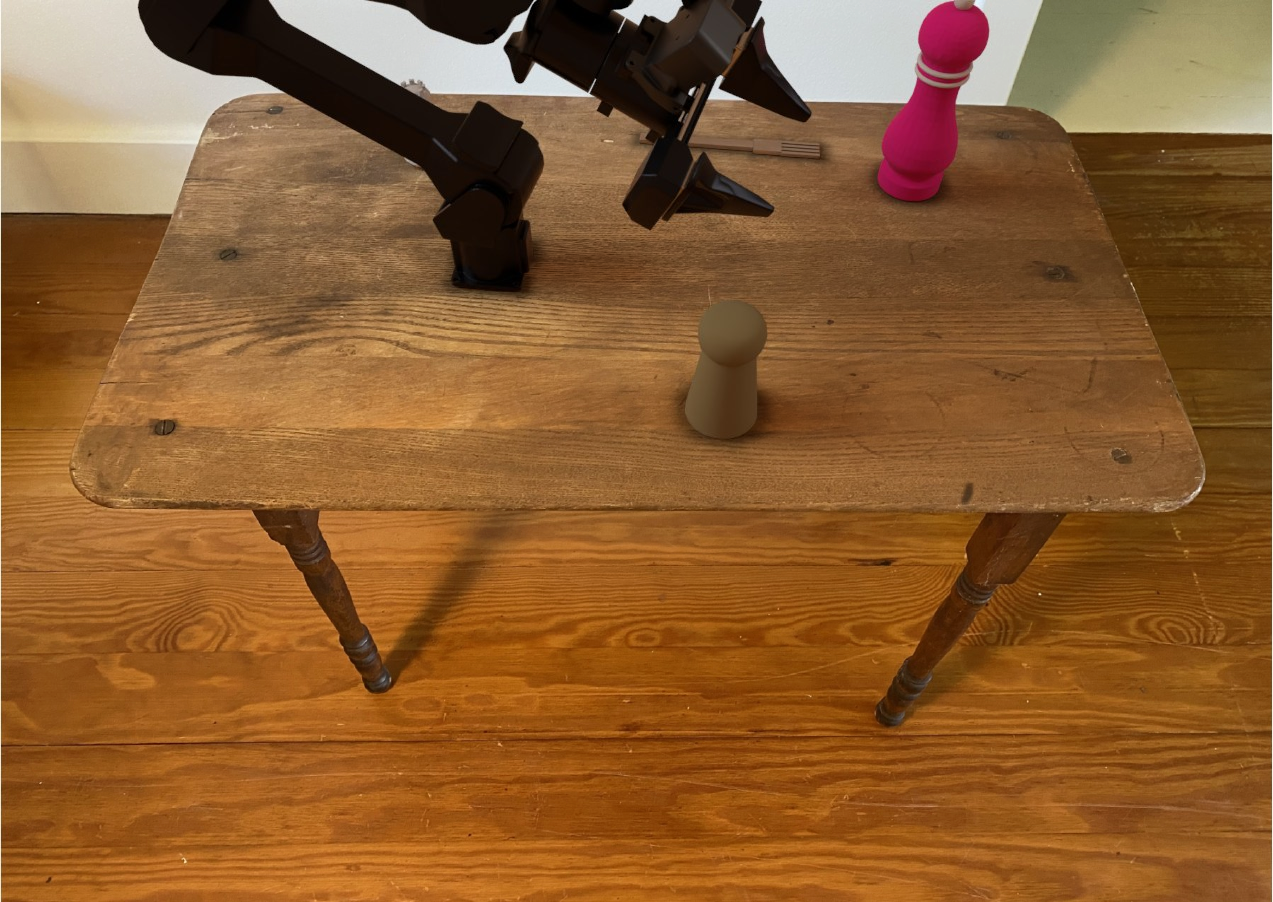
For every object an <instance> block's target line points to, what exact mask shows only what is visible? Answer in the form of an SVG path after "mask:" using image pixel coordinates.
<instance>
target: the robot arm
mask: <svg viewBox="0 0 1273 902" xmlns="http://www.w3.org/2000/svg"><path fill="white" fill-rule="evenodd" d="M365 1H366V2H372V3H376V4H377V3H378V4H383V5H388V6H394V7H396V8H399V9H401V10H404V11H407V12H409V14H410V15H412V16H413V17H415V18H416V19H417V20H418V21H419V22H420V23H422V24H423V25H424V26H425V27H426V28H428V29H429V30H431V31H434V32H437V33H440V34H443V35H445V36H449V37H451V38H454V39H456V40H460V41H461V42H465V43H469V44H472V45H475V46H487V45H490V44H494V43H495V42H496V41H497V40H499V39H500V38H501V37H502V36H503V35H504V34H506V32H507V31H508V29H509V28H510V26H511V25H512V24H513V22H514V20H515V19H516V17H518V16H520V15H522V14H523V13H526V12H527V11H528V14H527V16H526V18H525V21H524V24H523V27H522V29H521V30H518V31H513V32H512V33H511V34H510V35H509V37H508V38H507V41H506V42H505V44H504V45H503V48H502V50H503V52H504V53H505V54H506V57H507V59H508V61H509V65H510V70H511V73H512V76H513V79H514V82H516V84H518V85H522V84H524V83H525V82H526V79H527V78H528V76H529V74H530V72H531V71H532V69H533V67H534V66H535V64H537V65H538V66H540V67H542V68H543V69H545V70H547V71H549V72H551V73H552V74H554V75H556V76H558V77H559V78H561V79H562V80H564V81H566V82H568V83H569V84H571V85H573V86H574V87H577V88H578V89H580V90H582V91H583V92H585V93H587V94H589V95H590V96H592V97H594V98H596V99H597V100H599V101H600V102H599V104H598V106H597V108H596V112H598V113H599V114H601V115H603V116H604V117H606V118H609V117H610V115H611V114H612V112H613V110H617V111H618V112H620V113H621V114H623V115H625V116H627V117H628V118H630V119H632V120H634V121H636V123H639V124H640V125H642V126H644V127H646V128H648V131H647V132H646V133H647V135H646V137H645V139H646V140H648V141H650V142H652V143H653V144H652V146H651V148H650V150H649V151H648V153H647V154H646V156H645V157H644V159H643V160H642V162H641V163H640V165H639V167H638V168H637V169H636V172H635V175H634V176H633V178H632V181H631V183H630V185H629V187H628V190H627V191H626V194H625V196H624V199H623V201H622V203H621V206H622V207H623V209H624V211H625V212H626V214H627V216H628V218H629V219H630V220H631V221H632V222H633V223H635V224H637V225H639V226H641V227H643V228H644V229H647V231H652V230H653V228H654V227H655V226H656V224H657V223H658V222H659V221H660V220H662V221H664V222H665V223H667V222H669V221H670V220H671V219H672V217H673V216H674V215H682V214H683V215H685V214H686V215H689V214H715V215H716V214H717V215H728V216H729V215H730V216H740V217H741V216H742V217H744V216H745V217H755V218H769V217H770V216H771V215H772V214H773V213H774V211H775V206H774V205H772V204H771V203H770V202H769V201H767V200H766V199H765V198H763V196H760V195H759V194H757V193H755V192H753V191H752V190H750V189H749V188H747V187H745V186H744V185H742V184H740V183H738V182H736V181H734V180H733V179H732V178H729V177H728V176H727V175H725V174H723V173H721V172H719V171H717V169H716V168H715V167H714V164H713V163H712V161H711V160H710V158H709V156H708V154H707V153H706V151H704V150H703V151H702V152H701V154H700V155H698V157H697V159H696V160H694V159H695V158H694V157H693V154H692V152H691V149H690V147H688V143H689V140H690V138H691V136H693V133H694V131H695V129H696V127H697V124H698V122H699V120H700V118H701V116H702V113H703V111H704V108H705V107H706V104H707V103H708V102H707V101H708V100H709V98H710V95H711V93H712V91H713V88H714V86H715V83H716V81H717V79H718V78H719V77H720V76H721V77H722V78H721V81H720V83H719V85H718V90H720V91H722V92H725V93H727V94H730V95H732V96H733V97H737V98H739V99H742V100H744V101H746V102H749V103H751V104H753V105H755V106H758V107H760V108H762V109H765V110H767V111H769V112H772V113H774V114H776V115H778V116H781V117H784V118H786V119H789V120H793V121H796V122H799V123H802V124H803V123H804V124H805V123H807V122H808V121H809V119H810V118H811V117H812V115H813V113H812V110H811V109H810V107H809V106H808V105H807V103H806V102H805V101H804V100H803V98H802V97H801V96H800V94H798V92H797V91H796V90H795V88H794V86H792V84H791V83H790V82H789V81H788V79H787V78H786V77H785V76H784V74H783V72H781V70H780V69H779V68H778V66H777V65H776V63H775V62H774V60H773V58H772V57H771V55H770V54H769V52H768V49H767V44H766V39H765V38H766V37H765V33H764V29H765V25H766V21H765V19H764V16H760V17H759V18H758V20H757V21H756V23H755V24H754V22H755V20H756V18H757V15H758V13H759V11H760V8H761V6H762V4H763V1H762V0H680V1H681V3H682V5H680V6H679V8H678V10H677V12H676V14H675V16H674V17H673V18H672V19H671V20H669V21H668V22H666V21H663V20H661V19H660V18H658V17H657V16H655V15H647V14H646V13H644V14H643V15H642V16H643V17H642V18H641V20H640V22H639V24H637V23H635V22H634V21H632V20H631V19H629V18H627V17H625V16H624V15H622V14H621V13H619V12H617V11H621V10H625V9H627V8H629V7H630V6H631V5H632V4H633V3H634V1H635V0H365ZM137 11H138V16H139V19H140V21H141V23H142V26H143V29H144V32H145V34H146V35H147V37H148V39H149V40H150V42H151V43H152V45H153V47H155V48H156V49H157V50H158V51H159V52H161V53H162V54H163V55H165V56H166V57H168V58H170V59H171V60H174V61H176V62H178V63H181V64H182V65H183V64H184V65H186V66H187V67H188V66H189V67H191V68H193V69H196V70H198V71H201V72H204V73H206V74H209V75H210V76H220V77H238V78H253V79H256V80H260V81H262V82H264V83H265V84H268V85H269V86H272V88H275V89H276V90H279V91H280V92H283V93H284V94H286V95H288V96H290V97H292V98H293V99H295V100H297V101H299V102H301V103H303V104H304V105H307V106H308V107H310V108H312V109H314V110H315V111H317V112H319V113H321V114H323V115H325V116H327V118H330V119H332V120H334V121H336V122H337V123H340V124H341V125H343V126H345V127H347V128H349V129H350V130H352V131H354V132H356V133H358V134H359V135H362V136H364V137H365V138H367V139H370V141H373V142H375V143H377V144H379V145H380V146H382V147H384V148H385V149H387V150H390V151H391V152H393V153H395V154H397V155H399V156H401V157H402V158H404V159H405V158H406V159H408V160H410V161H412V162H413V163H415V164H417V165H419V166H420V167H421V169H422V170H423V171H424V172H425V175H426V176H427V177H428V178H429V180H430V181H431V183H432V184H433V186H434V188H435V189H436V190H437V192H438V193H439V194H440V196H441V198H442V199H443V201H442V203H441V204H440V206H439V208H438V209H437V212H436V213H435V214H434V216H433V218H432V222H433V224H434V226H435V228H436V229H437V231H438V233H439V234H440V236H441V238H442V239H444V240H446V241H447V240H448V241H449V243H450V248H451V249H450V250H451V253H452V259H453V263H454V268H453V271H452V275H451V278H450V283H451V286H453V287H456V288H467V289H468V288H469V289H480V290H481V289H482V290H493V291H494V290H496V291H506V292H507V291H508V292H519V291H521V290H522V288H523V285H524V280H525V277H526V274H528V273H529V272H530V270H531V265H532V261H533V256H534V249H533V237H532V228H531V221H530V220H529V219H525V218H524V209H525V207H526V205H527V204H528V202H529V199H530V197H531V195H532V194H533V192H534V189H535V188H536V185H537V184H538V182H539V179H540V178H541V176H542V174H543V171H544V168H545V159H544V153H543V152H542V149H541V148H540V142H539V140H537V138H536V137H535V136H534V135H533V134H531V132H529V131H527V130H526V129H524V128H523V125H524V121H523V120H520V119H515V118H512V117H509V116H507V115H505V114H503V113H502V112H500V111H499V110H497V109H496V108H495V107H494V106H492V105H491V104H489V103H488V102H484V101H481V100H477V101H476V102H475V103H474V105H473V106H472V108H471V109H470V111H469V112H453V111H448V110H445V109H444V108H441V107H439V106H437V105H436V104H435V103H432V102H430V101H429V100H428V101H427V100H425V99H423V98H422V97H420V96H418V95H416V94H414V93H413V92H411V91H409V90H407V89H405V88H404V87H402V86H401V84H398V83H396V82H395V81H393V80H391V79H390V78H387V77H386V76H384V75H382V74H380V73H379V72H378V71H375V70H373V69H372V68H370V67H367V66H366V65H365V64H362V63H360V62H359V61H357V60H356V59H354V58H352V57H350V56H348V55H347V54H345V53H343V52H342V51H339V50H337V49H336V48H334V47H332V46H330V45H328V44H327V43H325V42H323V41H322V40H319V39H318V38H316V37H314V36H313V35H310V34H309V33H307V32H306V31H303V30H302V29H300V28H298V27H296V26H295V25H293V24H291V23H289V22H287V21H286V20H285V19H283V18H282V17H281V15H280V14H279V12H278V11H277V9H276V8H275V7H274V5H273V4H272V2H271V1H270V0H138V3H137ZM753 24H754V25H753ZM692 89H693V90H692ZM691 90H692V91H691ZM690 91H691V94H689V93H690ZM662 136H664V137H662ZM406 159H405V160H406ZM420 167H419V168H420Z"/></svg>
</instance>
